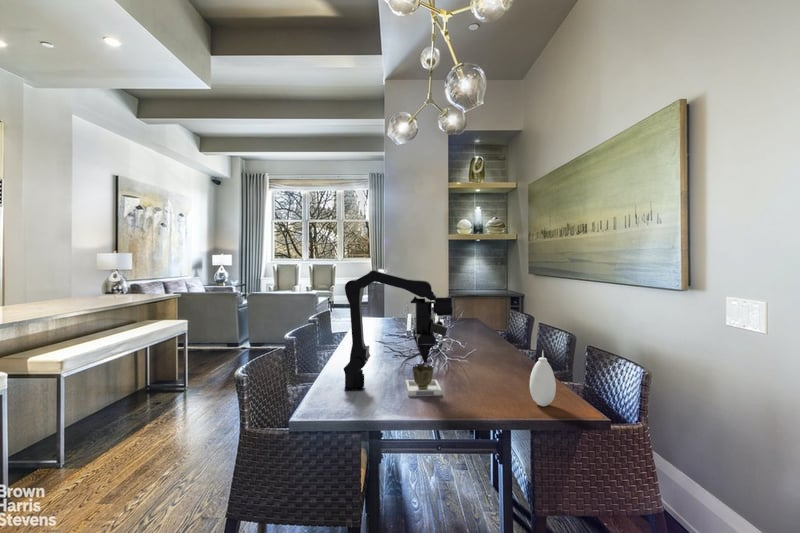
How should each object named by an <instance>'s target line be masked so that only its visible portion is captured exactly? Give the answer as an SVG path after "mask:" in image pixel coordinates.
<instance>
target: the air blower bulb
mask: <svg viewBox="0 0 800 533" xmlns="http://www.w3.org/2000/svg"><path fill="white" fill-rule="evenodd" d="M531 370H532V371H531V373H530V377H529V392H530V395H531V398H532V400H533V402H536V404H537V405H539V406H540V407H546V406H549V404H551V403H552V402H553V401H554V398H555V396H556V391H557V390H556V389H557V388H556V386H557V385H556V383H557V382H556V377H555V373H554V371H553V368H552V365H551V364H550V363H549V362H548V359H547V358H546V357H545V356H544V350H542V352H541V357H538V361H536V363H535V364H534V365H533V367H532V369H531Z"/></svg>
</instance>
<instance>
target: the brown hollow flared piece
mask: <svg viewBox="0 0 800 533" xmlns="http://www.w3.org/2000/svg"><path fill="white" fill-rule="evenodd" d="M433 372H434V367H433V365H430V364H427V366H425V364H417V365H413V366H412V374H413V375H412V376H413V380H414V381H415V383H416V384H417V385H418V389H420V390H426V389H427V388H428V385H429V384H430V383H431V380H433Z"/></svg>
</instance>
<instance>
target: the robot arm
mask: <svg viewBox="0 0 800 533" xmlns="http://www.w3.org/2000/svg"><path fill="white" fill-rule="evenodd" d="M374 282H375V283H380V284H383V285H387V286H391V287H395V288H398V289H403V290H405V291H408V292H410V293H411V294H412V295H415V296H414V297H413V299H411V300H410V304H415V317H414V320H415V326H414V327H413V329H412V335H413V339H414V342H415V344H416V346H417V350H418V352H419V355H420V357H421V358H422V362H423V363H428V359H429V355H430V350H431V348H433V347H434V346H435V345H436V343H437V338H436V337H435V335H434V333H435V334H437V335H441V337H446V335H447V332H448V329H449V328H448V327H447V326H445V325H444V324H443V321H440V320H437V321H436V322H434V319H433V318H432V312H433V314H435V315H436V316H437V317H453V305H452V304H453V303H452V302H453V298H452V296H447V297H446V296H445V297H443V296H442V297H441V296H440V297H439V296H436V294H435V293H434V292H433V291H432V288H433V287H432V284H431V283H430V282H429V281H427V280H425V279H424V280H423V279H409V278H403V277H399V276H396V275H393V274H389V273H386V272H380V271H378V270H377V269H376V270H373V269H372V270H370V271H369V272H368V273H366V274H364V275H363V276H361V277H359V278H356V279H352V280H349V281H347V282H346V283H345V285H344V292H345V295H346V296H345V297H346V299H347V301H348V305H349V311H350V325H351V326H350V328H351V339H352V342H351V349H350V353H349V354H350V356H349V361H348V363H346V365H345V366H344V367H343V372H344V376H345V377H344V388H343V389H344V391H364V390H363V389H364V387H365V374H364V372H363V371H364V370H363V368H365V365H366V364H367V362H369V359H370V357H371V354H370V345H366V343H365V341H364V340H365V339H364V338H365V337H364V325H363V309H362V308H363V307H362V303H363V297H364V290H365V288H367V287H368V286H369V285H371V284H373V283H374ZM418 297H419V298H418ZM426 299H428V300H426ZM432 304H433V309H432Z"/></svg>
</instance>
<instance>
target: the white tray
mask: <svg viewBox="0 0 800 533" xmlns="http://www.w3.org/2000/svg"><path fill="white" fill-rule="evenodd" d="M405 389H406V392H407V397H442V396H443V394H442V393H443V392H442V391H443V389H442V388H441V386H440V384H439V382H438V380H437V379H432V380H431V383H430V384H429V385H428V388H427V389H426V390H420V389H418V385H417V384H416V383H415V381H414V379H405Z"/></svg>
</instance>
